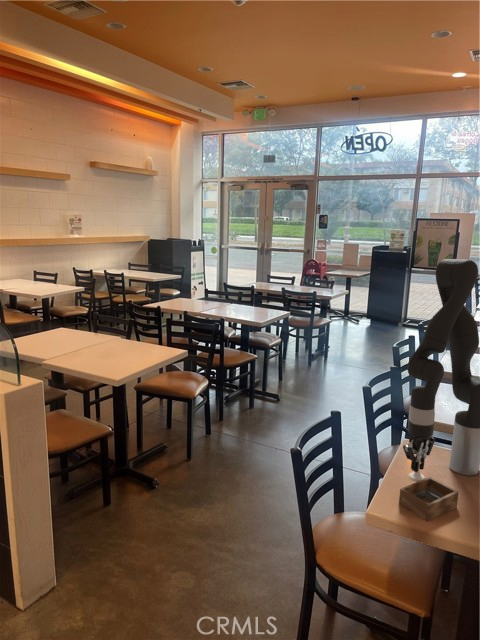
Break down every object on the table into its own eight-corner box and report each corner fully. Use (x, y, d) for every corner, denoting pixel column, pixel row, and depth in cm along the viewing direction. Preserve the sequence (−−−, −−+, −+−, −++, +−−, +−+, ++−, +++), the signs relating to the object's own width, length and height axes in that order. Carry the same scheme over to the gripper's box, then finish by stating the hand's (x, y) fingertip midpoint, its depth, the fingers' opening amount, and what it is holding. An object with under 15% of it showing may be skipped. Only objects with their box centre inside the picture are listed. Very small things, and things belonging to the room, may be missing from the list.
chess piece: (426, 483, 146) (428, 454, 144) (409, 481, 147) (412, 452, 145) (423, 474, 151) (425, 446, 149) (407, 473, 152) (409, 445, 150)
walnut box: (428, 491, 147) (429, 476, 146) (456, 507, 139) (458, 492, 138) (398, 503, 140) (400, 488, 139) (427, 521, 132) (429, 505, 131)
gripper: (424, 410, 152) (420, 458, 155) (397, 420, 144) (393, 470, 148) (445, 418, 145) (440, 468, 149) (417, 429, 138) (413, 481, 142)
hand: (417, 469), depth 148 cm, fingers closed on chess piece
